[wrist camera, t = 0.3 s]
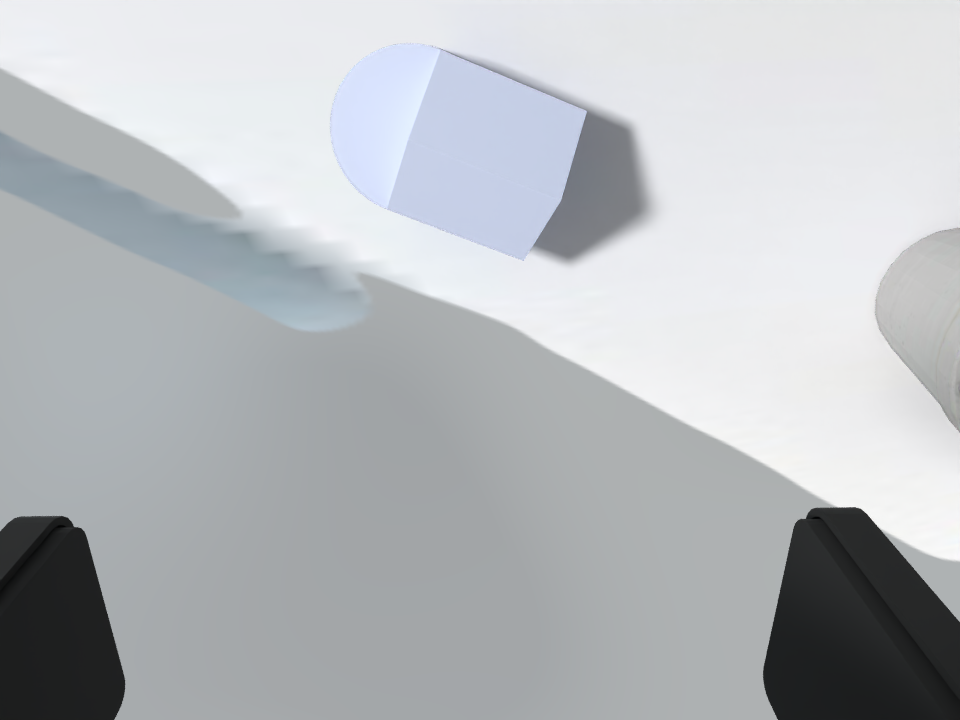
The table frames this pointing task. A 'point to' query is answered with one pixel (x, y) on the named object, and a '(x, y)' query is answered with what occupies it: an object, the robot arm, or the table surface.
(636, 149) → the table surface
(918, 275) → the potted plant
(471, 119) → the wedge on round base
